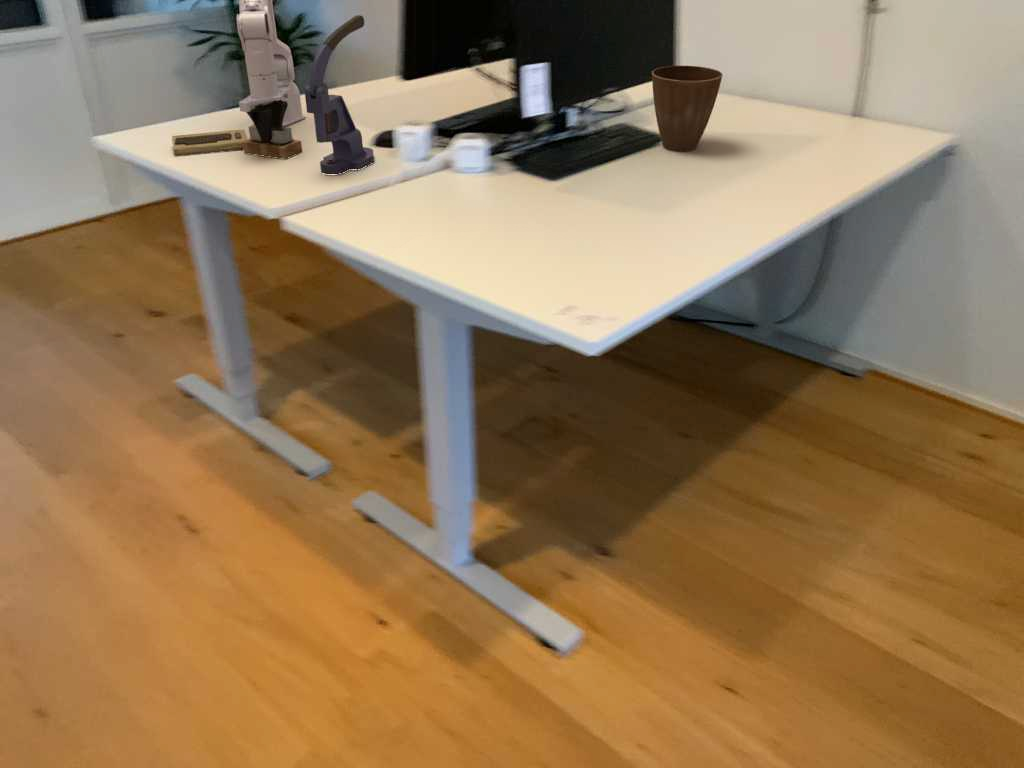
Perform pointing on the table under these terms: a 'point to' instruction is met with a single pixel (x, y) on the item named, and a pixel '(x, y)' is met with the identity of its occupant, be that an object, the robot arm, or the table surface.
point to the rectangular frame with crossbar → (272, 148)
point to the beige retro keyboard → (208, 142)
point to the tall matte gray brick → (273, 135)
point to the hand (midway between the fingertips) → (271, 138)
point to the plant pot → (684, 103)
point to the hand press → (335, 111)
